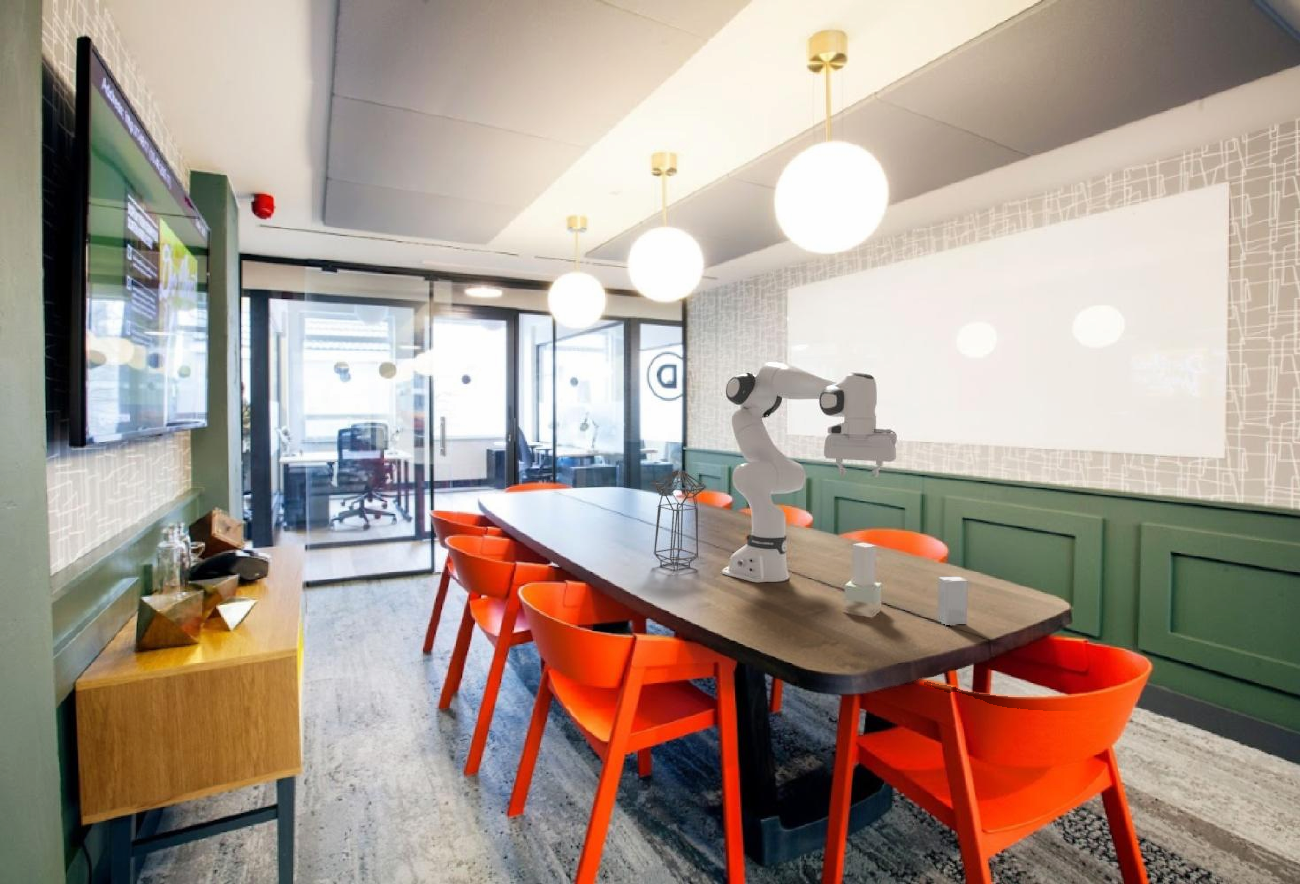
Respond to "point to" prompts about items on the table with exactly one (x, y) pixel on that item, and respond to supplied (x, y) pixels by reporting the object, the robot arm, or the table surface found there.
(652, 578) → the table surface
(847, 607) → the ash block
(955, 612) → the skincare box
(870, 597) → the sage block
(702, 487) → the geometric lantern
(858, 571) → the tall grey block
